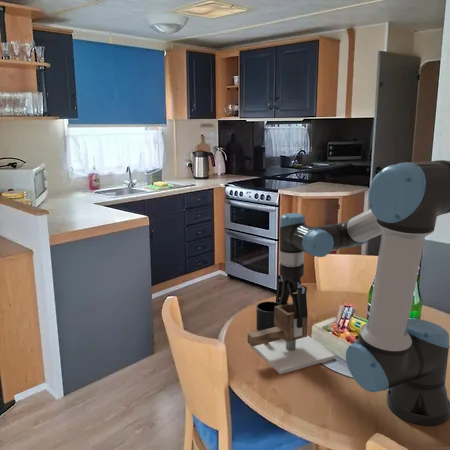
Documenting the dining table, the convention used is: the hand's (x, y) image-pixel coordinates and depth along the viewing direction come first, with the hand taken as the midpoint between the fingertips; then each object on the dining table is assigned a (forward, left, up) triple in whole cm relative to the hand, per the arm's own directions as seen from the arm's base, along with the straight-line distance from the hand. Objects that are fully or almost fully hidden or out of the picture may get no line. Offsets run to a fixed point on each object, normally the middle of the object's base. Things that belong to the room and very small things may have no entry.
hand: (290, 330), depth 143 cm
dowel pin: (+6, +6, -6) cm, 10 cm away
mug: (+18, -2, -8) cm, 20 cm away
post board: (0, 0, -7) cm, 7 cm away
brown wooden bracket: (0, +6, -1) cm, 6 cm away
